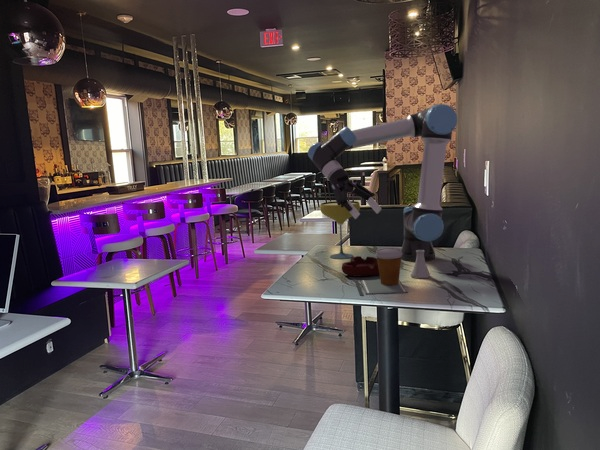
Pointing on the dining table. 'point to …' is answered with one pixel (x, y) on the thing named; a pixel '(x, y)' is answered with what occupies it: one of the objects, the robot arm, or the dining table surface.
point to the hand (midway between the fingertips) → (368, 214)
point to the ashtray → (361, 267)
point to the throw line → (359, 288)
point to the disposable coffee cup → (389, 265)
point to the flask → (420, 266)
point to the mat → (382, 287)
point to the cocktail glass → (338, 220)
